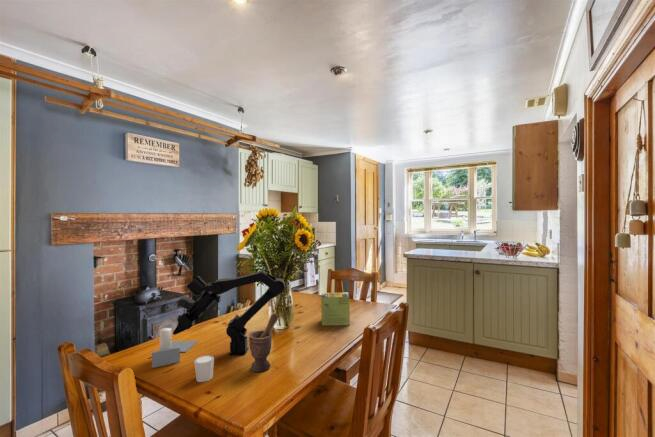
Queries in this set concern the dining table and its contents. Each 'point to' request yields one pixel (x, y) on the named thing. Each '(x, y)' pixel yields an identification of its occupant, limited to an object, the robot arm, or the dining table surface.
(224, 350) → the dining table surface
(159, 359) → the screen
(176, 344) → the slate mat
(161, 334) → the white rounded cylinder
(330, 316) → the protein box
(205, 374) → the shot glass
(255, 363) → the mortar and pestle
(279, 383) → the dining table surface
